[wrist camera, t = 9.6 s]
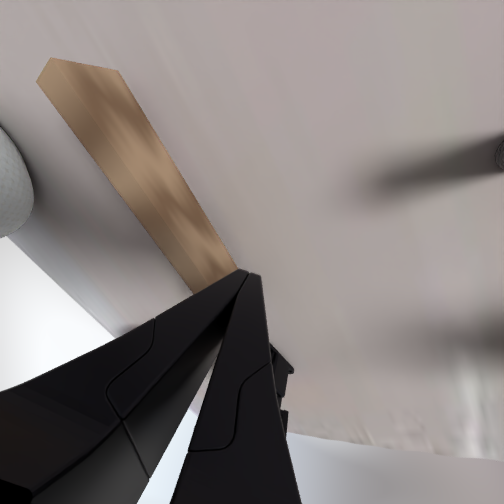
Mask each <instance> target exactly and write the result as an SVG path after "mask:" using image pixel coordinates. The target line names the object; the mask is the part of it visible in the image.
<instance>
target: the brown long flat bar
mask: <svg viewBox="0 0 504 504" xmlns="http://www.w3.org/2000/svg"><path fill="white" fill-rule="evenodd" d="M36 83H37V84H38V85H39V87H40V88H41V89H42V91H43V92H44V93H45V95H46V96H47V97H48V99H49V100H50V101H51V103H52V104H53V105H54V107H55V108H56V109H57V111H58V112H59V113H60V115H61V116H62V118H63V119H64V120H65V122H66V123H67V124H68V126H69V127H70V128H71V130H72V131H73V132H74V134H75V135H76V136H77V138H78V139H79V140H80V142H81V143H82V144H83V146H84V147H85V148H86V150H87V151H88V152H89V154H90V155H91V157H92V158H93V159H94V161H95V162H96V163H97V165H98V166H99V167H100V169H101V170H102V171H103V173H104V174H105V175H106V177H107V178H108V179H109V181H110V182H111V183H112V185H113V186H114V187H115V189H116V190H117V191H118V193H119V194H120V196H121V197H122V198H123V200H124V201H125V202H126V204H127V205H128V206H129V208H130V209H131V210H132V212H133V213H134V214H135V216H136V217H137V218H138V220H139V221H140V222H141V224H142V225H143V226H144V228H145V229H146V231H147V232H148V233H149V235H150V236H151V237H152V239H153V240H154V241H155V243H156V244H157V245H158V247H159V248H160V249H161V251H162V252H163V253H164V255H165V256H166V257H167V259H168V260H169V261H170V263H171V264H172V265H173V267H174V268H175V270H176V271H177V272H178V274H179V275H180V276H181V278H182V279H183V280H184V282H185V283H186V284H187V286H188V287H189V288H190V290H191V291H192V292H193V294H196V293H197V292H199V291H201V290H202V289H204V288H206V287H208V286H209V285H211V284H213V283H214V282H216V281H218V280H220V279H221V278H223V277H225V276H226V275H228V274H230V273H232V272H233V271H235V270H237V269H238V268H237V266H236V264H235V263H234V261H233V259H232V258H231V256H230V254H229V253H228V251H227V249H226V248H225V246H224V244H223V243H222V241H221V239H220V238H219V236H218V235H217V233H216V231H215V230H214V228H213V226H212V225H211V223H210V221H209V220H208V218H207V216H206V215H205V213H204V211H203V210H202V208H201V206H200V205H199V203H198V202H197V200H196V198H195V197H194V195H193V193H192V192H191V190H190V188H189V187H188V185H187V183H186V182H185V180H184V178H183V177H182V175H181V173H180V172H179V170H178V169H177V167H176V165H175V164H174V162H173V160H172V159H171V157H170V155H169V154H168V152H167V150H166V149H165V147H164V145H163V144H162V142H161V141H160V139H159V137H158V136H157V134H156V132H155V131H154V129H153V127H152V126H151V124H150V122H149V121H148V119H147V117H146V116H145V114H144V112H143V111H142V109H141V108H140V106H139V104H138V103H137V101H136V99H135V98H134V96H133V94H132V93H131V91H130V89H129V88H128V86H127V84H126V83H125V81H124V79H123V78H122V76H121V75H120V73H119V71H117V70H112V69H107V68H102V67H97V66H92V65H87V64H82V63H76V62H71V61H66V60H61V59H56V58H51V57H50V59H49V61H48V62H47V64H46V66H45V67H44V69H43V71H42V72H41V74H40V75H39V77H38V79H37V80H36Z"/></svg>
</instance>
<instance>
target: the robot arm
mask: <svg viewBox="0 0 504 504" xmlns="http://www.w3.org/2000/svg"><path fill="white" fill-rule="evenodd" d="M217 354H218V356H217ZM216 356H217V359H216V362H215V366H214V369H213V372H212V375H211V378H210V381H209V384H208V388H207V391H206V394H205V397H204V400H203V403H202V406H201V410H200V413H199V416H198V419H197V422H196V425H195V428H194V432H193V435H192V438H191V441H190V444H189V447H188V453H187V454H186V457H185V460H184V463H183V466H182V469H181V472H180V475H179V478H178V481H177V484H176V487H175V490H174V493H173V496H172V499H171V501H170V504H302V503H301V499H300V495H299V490H298V486H297V482H296V478H295V474H294V470H293V465H292V462H291V457H290V453H289V449H288V445H287V441H286V433H287V423H288V411H286V410H284V411H283V410H281V409H280V407H281V401H282V398H283V397H284V396H285V390H286V384H287V377H288V374H293V373H294V368H293V367H292V366H291V365H290V364H289V363H288V362H287V361H286V360H285V359H284V358H283V357H282V355H281V354H280V353H279V352H278V351H277V350H276V349H275V348H274V347H273V346H272V345H271V344H270V343H269V336H268V328H267V320H266V312H265V304H264V296H263V288H262V280H261V276H260V275H258V274H255V273H249V272H248V271H245V270H242V269H237V270H235V271H233V272H232V273H230V274H228V275H226V276H225V277H223V278H221V279H220V280H218V281H216V282H214V283H213V284H211V285H209V286H208V287H206V288H204V289H202V290H201V291H199V292H197V293H196V294H194V295H192V296H190V297H189V298H187V299H185V300H184V301H182V302H180V303H178V304H177V305H175V306H173V307H172V308H170V309H168V310H166V311H165V312H163V313H161V314H160V315H158V316H156V317H155V319H154V318H152V319H151V320H149V321H147V322H146V323H144V324H142V325H140V326H139V327H137V328H135V329H133V330H131V331H130V332H128V333H126V334H124V335H122V336H120V337H118V338H116V339H114V340H112V341H110V342H108V343H106V344H105V345H103V346H100V347H98V348H97V349H94V350H92V351H90V352H88V353H86V354H84V355H82V356H79V357H77V358H75V359H73V360H71V361H69V362H67V363H65V364H63V365H61V366H58V367H57V368H54V369H52V370H50V371H48V372H46V373H44V374H42V375H40V376H37V377H35V378H33V379H31V380H29V381H27V382H24V383H22V384H20V385H17V386H14V387H12V388H9V389H7V390H4V391H1V392H0V504H137V502H138V500H139V499H140V497H141V495H142V493H143V491H144V489H145V488H146V486H147V484H148V482H149V478H151V476H152V474H153V472H154V471H155V469H156V467H157V465H158V463H159V462H160V460H161V458H162V456H163V454H164V452H165V450H166V449H167V447H168V445H169V443H170V441H171V439H172V437H173V436H174V434H175V432H176V430H177V428H178V426H179V424H180V423H181V421H182V419H183V417H184V415H185V414H186V412H187V410H188V408H189V406H190V404H191V402H192V401H193V399H194V397H195V395H196V393H197V391H198V390H199V388H200V386H201V384H202V382H203V380H204V378H205V377H206V375H207V373H208V371H209V369H210V367H211V366H212V364H213V362H214V360H215V358H216Z"/></svg>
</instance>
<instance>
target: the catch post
mask: <svg viewBox="0 0 504 504" xmlns="http://www.w3.org/2000/svg"><path fill="white" fill-rule="evenodd" d="M495 160H496V163H497V165H498V166H499V167H500V168H502V169H504V141H503V142H502V143H501V144H500V146H499V147H498V149H497V152H496V155H495Z"/></svg>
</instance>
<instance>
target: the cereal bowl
mask: <svg viewBox="0 0 504 504" xmlns="http://www.w3.org/2000/svg"><path fill="white" fill-rule="evenodd" d="M33 203H34V194H33V188H32V183H31V179H30V177H29V174H28V172H27V169H26V165H25V163H24V160H23V158H22V156H21V154H20V152H19V150H18V149H17V147H16V146H15V144H14V143H13V141H12V140H11V139H10V137H9V136H8V135H7V134H6V133H5V132H4V130H3V129H2V128H1V127H0V238H2V237H5V236H7V235H9V234H10V233H12V232H14V231H15V230H17V229H19V228H20V227H21V226H22V225H23V224H24V223H25V222H26V221H27V219H28V218H29V217H30V214H31V212H32V208H33Z"/></svg>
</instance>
